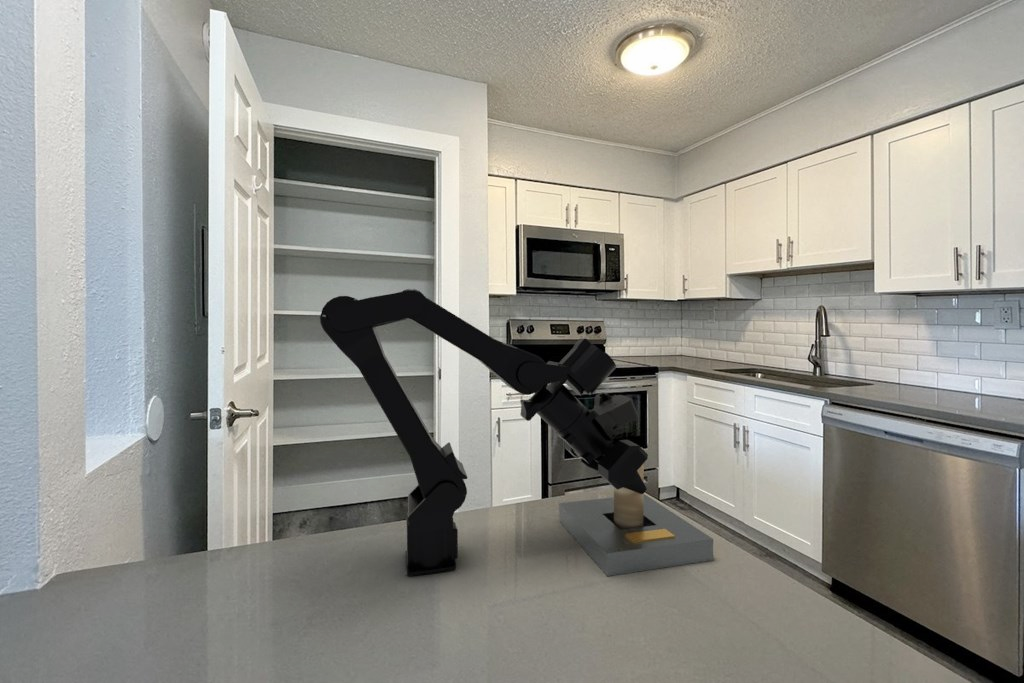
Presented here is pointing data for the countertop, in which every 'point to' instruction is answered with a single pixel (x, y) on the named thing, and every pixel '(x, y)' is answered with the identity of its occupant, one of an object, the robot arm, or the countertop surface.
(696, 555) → the grey peg hole board
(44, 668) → the countertop surface
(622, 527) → the barrel peg
